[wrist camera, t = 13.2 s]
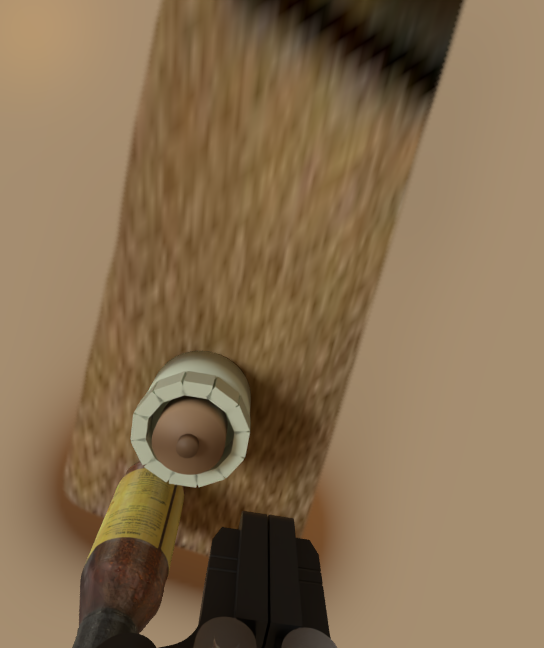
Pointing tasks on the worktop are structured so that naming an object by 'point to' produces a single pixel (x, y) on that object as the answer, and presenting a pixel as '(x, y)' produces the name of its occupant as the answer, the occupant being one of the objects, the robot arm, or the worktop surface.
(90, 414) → the worktop surface
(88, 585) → the sauce bottle
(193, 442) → the lid
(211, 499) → the worktop surface
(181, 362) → the jar
